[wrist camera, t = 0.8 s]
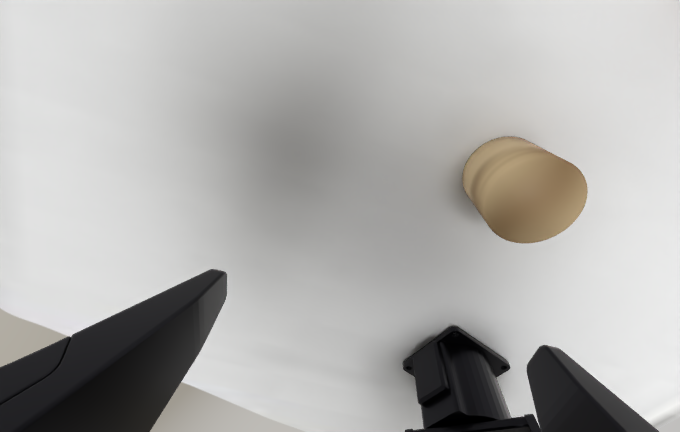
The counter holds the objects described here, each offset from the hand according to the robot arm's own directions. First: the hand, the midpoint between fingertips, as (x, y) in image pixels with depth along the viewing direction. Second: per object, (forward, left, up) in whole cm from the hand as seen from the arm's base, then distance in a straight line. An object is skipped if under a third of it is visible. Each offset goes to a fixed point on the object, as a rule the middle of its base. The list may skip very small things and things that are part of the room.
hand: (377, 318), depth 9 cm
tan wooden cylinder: (-6, -5, -13) cm, 15 cm away
